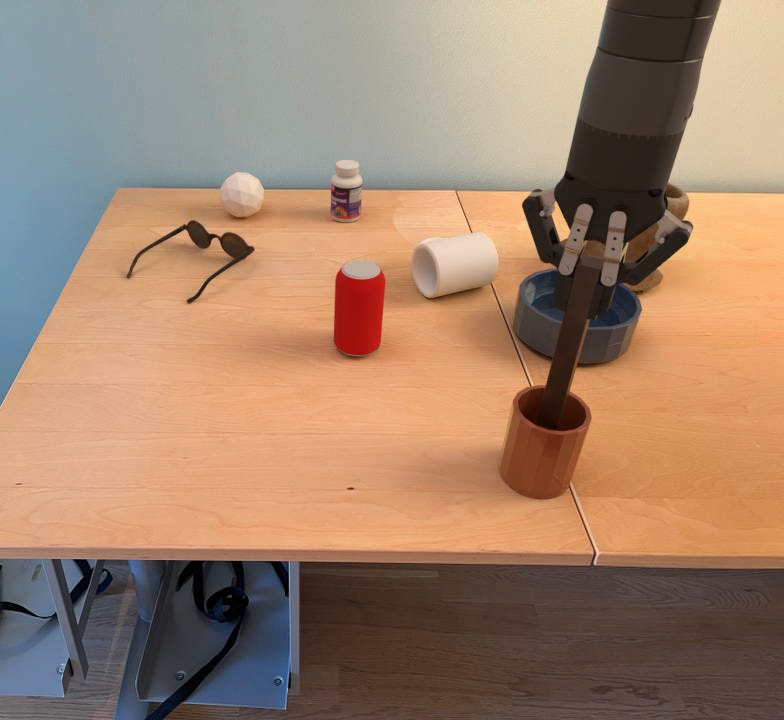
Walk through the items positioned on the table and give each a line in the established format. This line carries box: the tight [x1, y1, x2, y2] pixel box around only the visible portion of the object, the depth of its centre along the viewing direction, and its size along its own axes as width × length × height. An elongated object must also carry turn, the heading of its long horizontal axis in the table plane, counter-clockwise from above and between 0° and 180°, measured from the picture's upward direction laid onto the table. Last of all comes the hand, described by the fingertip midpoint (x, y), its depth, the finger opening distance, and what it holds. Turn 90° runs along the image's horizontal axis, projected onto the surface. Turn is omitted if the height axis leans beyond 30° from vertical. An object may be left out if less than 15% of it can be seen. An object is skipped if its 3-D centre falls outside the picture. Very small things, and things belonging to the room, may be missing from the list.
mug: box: [410, 231, 499, 299], centre depth 104 cm, size 12×10×8 cm
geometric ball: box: [219, 171, 265, 218], centre depth 123 cm, size 8×8×8 cm
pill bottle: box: [330, 159, 363, 223], centre depth 122 cm, size 5×5×10 cm
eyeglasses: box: [126, 219, 256, 304], centre depth 107 cm, size 15×15×5 cm
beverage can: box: [333, 259, 386, 357], centre depth 89 cm, size 6×6×12 cm
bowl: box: [512, 267, 643, 364], centre depth 93 cm, size 15×15×6 cm
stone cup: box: [560, 182, 690, 292], centre depth 104 cm, size 15×12×15 cm
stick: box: [536, 255, 604, 430], centre depth 64 cm, size 2×2×18 cm
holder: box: [498, 384, 593, 500], centre depth 71 cm, size 7×7×9 cm
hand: (578, 311), depth 62 cm, fingers closed on stick, 2 cm apart
